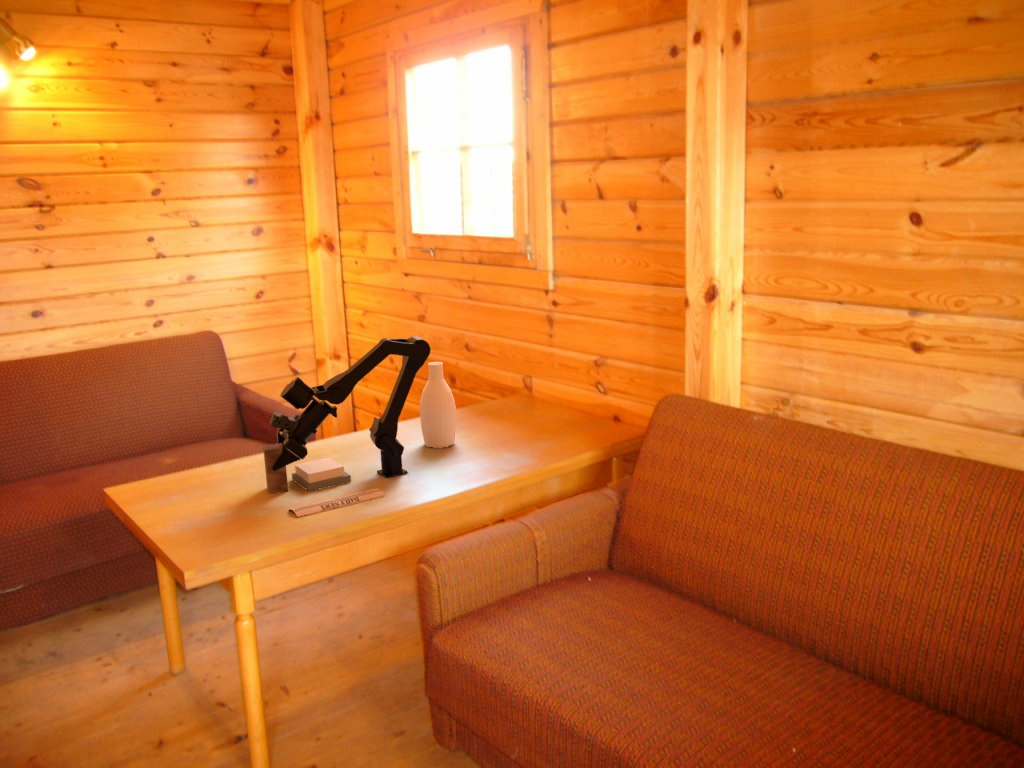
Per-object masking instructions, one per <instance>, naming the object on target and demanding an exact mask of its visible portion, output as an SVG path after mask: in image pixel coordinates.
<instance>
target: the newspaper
mask: <svg viewBox="0 0 1024 768" xmlns="http://www.w3.org/2000/svg"><path fill="white" fill-rule="evenodd" d="M383 496H385V497H386V495H385V492H383V491H382V490H381V489H379V488H372V489H367V490H364V491H363V490H362V491H360V492H355V493H352V494H351V493H350V494H346V495H343V496H339V497H334V498H330V499H327V500H326V499H325V500H322V501H318V502H315V503H314V502H313V503H309V504H306V505H301V506H298V507H297V506H296V507H294V508H289V509H288V511H289V510H293V511H292V512H294V513H295V516H296V518H297V517H299V518H301V517H300V516H303V517H305V516H304V515H307V516H309V515H308V514H311V515H314V514H313V513H315V514H318V513H317V512H319V513H322V512H321V511H323V512H326V510H327V511H330V510H329V509H331V510H334V509H333V508H336V509H338V508H337V507H340V508H342V507H341V506H344V507H346V505H348V506H352V505H356V504H359V502H360V503H364V502H367V500H368V501H371V500H370V499H372V500H375V499H374V498H376V499H379V498H378V497H380V498H383ZM363 501H364V502H363ZM355 503H356V504H355ZM351 504H352V505H351Z"/></svg>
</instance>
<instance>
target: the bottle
mask: <svg viewBox="0 0 1024 768" xmlns="http://www.w3.org/2000/svg"><path fill="white" fill-rule="evenodd" d="M443 364H444V363H443V362H442V361H432V362H428V363H427V366H428V380H427V381H426V384H425V386H424V388H423V389H422V393H421V396H420V399H419V400H420V401H419V416H420V427H421V433H422V438H423V443H424V445H425V446H426V447H427V446H428V447H427V448H429V447H433V448H432V449H437V448H438V449H444V448H443V447H447V446H450V445H452V444H453V445H454V443H455V441H456V440H455V439H456V433H457V432H456V431H457V407H456V402H455V399H454V398H455V397H454V395H453V392H452V389H451V388H450V386H449V385H448V383H447V382H446V379H444V368H443V367H444V366H443ZM453 445H452V446H453ZM450 447H451V446H450ZM447 448H448V447H447Z"/></svg>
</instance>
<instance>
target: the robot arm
mask: <svg viewBox="0 0 1024 768" xmlns="http://www.w3.org/2000/svg"><path fill="white" fill-rule="evenodd" d="M431 350H432V348H431V346H430V344H429V342H428V341H426V340H425V339H423V338H421V337H420V336H416V335H415V336H413V335H412V336H410V337H408V338H388V337H384V338H382V339H380V340H379V341H378V343H376V344H375V345H374V346H373V347H372V348H370V350H369V351H367V352H366V353H365V354H364V355H363V356H362V357H361V358H359V359H358V360H357V361H356V362H355V363H354V364H353V365H351V366H350V367H349V368H348V369H346V370H345V371H343V372H341V373H339V374H336V375H335V376H333V377H331V378H330V379H328V380H327V381H325V382H324V384H321V385H316V386H313V387H311V386H309V385H308V384H306V383H305V382H304V381H303V380H302V378H301V377H300V376H297V377H295V379H294V380H291V382H289V383H287V384H286V386H285V387H284V388H283V389H282V391H281V392H280V395H279V396H280V398H282V399H283V400H285V401H286V402H287V403H288V404H289V405H291V406H292V407H294V408H295V409H296V410H299V409H301V410H302V412H301V413H300V414H295V415H294V417H293V416H290V415H287V414H283V413H281V412H278V411H273V412H272V414H271V418H270V420H269V422H268V423H269V424H270V425H269V426H271V427H272V428H275V429H277V431H276V437H277V441H276V443H275V444H277V443H283V444H282V452H281V454H280V455H279V457H278V458H277V460H276V462H275V463H274V465H273V467H272V470H274V471H276V470H278V469H280V468H282V467H284V466H286V467H287V466H288V465H291V464H293V463H295V462H297V461H301V460H305V458H306V457H307V456H308V454H309V453H308V448H307V444H308V442H307V441H308V440H309V439H310V437H311V436H312V435H313V434H314V435H316V434H317V432H318V428H319V427H320V426H321V425H322V424H323V422H324V421H325V420H326V419H327V418H328V417H329V415H331V416H332V417H334V418H335V419H337V418H338V412H337V411H338V406H336V405H341V404H342V403H344V402H345V401H346V399H347V398H348V397H349V396H350V394H351V393H352V392H353V390H354V389H355V387H356V385H357V384H358V383H359V382H360V381H361V380H362V379H363V378H364V377H366V376H367V375H368V374H369V373H371V371H373V370H374V369H375V368H376V367H377V366H378V365H380V364H381V363H382V362H383V361H384V360H386V359H387V358H388V357H389V356H390V355H394V356H401V357H402V361H401V368H400V369H399V373H398V375H397V378H396V380H395V383H394V386H393V389H392V391H391V393H390V396H389V399H388V401H387V403H386V406H385V409H384V411H383V413H382V415H381V416H380V417H379V418H378V417H376V416H374V417H373V420H372V424H371V427H370V428H369V429H368V430H369V432H370V433H369V437H370V440H371V441H372V443H373V445H374V446H375V447H376V448H377V449H378V450H380V465H381V466H380V467H381V469H377V470H376V472H377V474H379V475H381V476H383V477H385V478H388V479H389V478H393V477H396V476H400V475H405V474H408V473H409V472H408V470H406V469H405V468H403V457H402V455H404V450H405V447H404V445H403V444H401V442H400V441H399V440H398V439H397V436H398V428H399V419H400V417H401V413H402V411H403V409H404V406H405V403H406V401H407V398H408V396H409V394H410V391H411V388H412V386H413V383H414V380H415V378H416V375H417V373H418V372H419V371H420V369H421V368H422V367H423V366H424V364H425V363H426V361H427V360H428V358H429V356H430V355H431ZM326 401H327V402H326ZM329 403H330V404H331V405H330V404H329ZM332 405H333V406H332ZM303 409H304V410H303Z"/></svg>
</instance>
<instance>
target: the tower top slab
mask: <svg viewBox="0 0 1024 768" xmlns="http://www.w3.org/2000/svg"><path fill="white" fill-rule="evenodd" d="M294 466H295V467H294V468H295V473H296V474H297V475H299V476H300V477H301V478H303V479H304V480H306V481H307V482H308V483H312V482H317V481H321V480H326V479H330V478H335V477H339V476H344V472H345V466H344V465H342V464H340V463H339V462H337V461H336V460H334V459H332V458H331V457H325V458H321V459H316V460H313V461H308V462H307V461H306V462H302V463H298V464H294Z"/></svg>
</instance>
